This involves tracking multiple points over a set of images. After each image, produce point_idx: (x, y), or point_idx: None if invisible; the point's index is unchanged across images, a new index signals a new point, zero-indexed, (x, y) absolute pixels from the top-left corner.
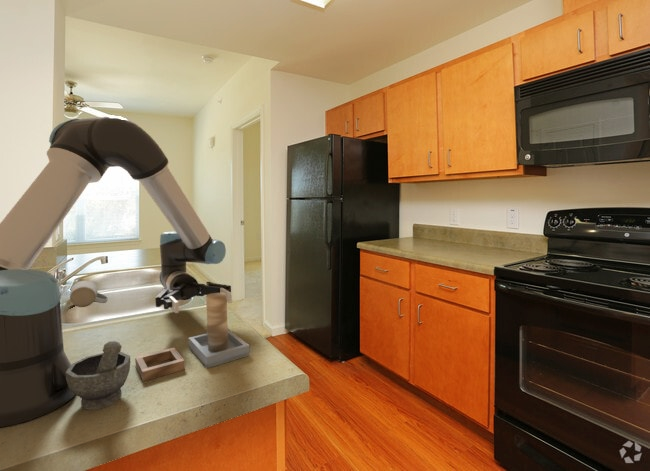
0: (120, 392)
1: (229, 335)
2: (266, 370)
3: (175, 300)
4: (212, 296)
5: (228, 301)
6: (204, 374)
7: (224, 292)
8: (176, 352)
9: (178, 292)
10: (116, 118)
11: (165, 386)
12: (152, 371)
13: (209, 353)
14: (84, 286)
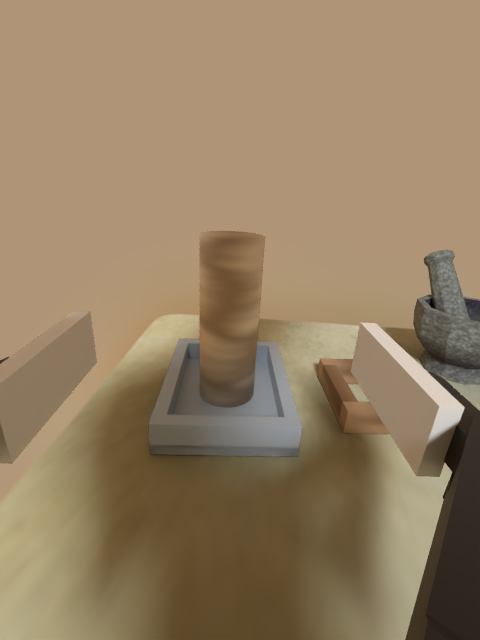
0: (424, 361)
1: (173, 396)
2: (191, 328)
3: (380, 338)
4: (247, 235)
5: (93, 358)
6: (283, 353)
7: (57, 350)
8: (338, 387)
9: (425, 599)
10: None
11: (350, 355)
12: None
13: (256, 382)
14: None
